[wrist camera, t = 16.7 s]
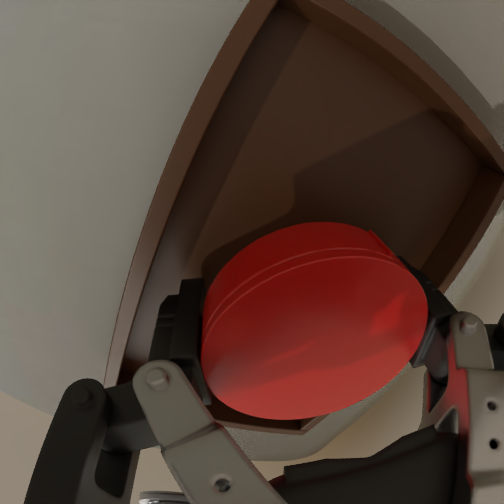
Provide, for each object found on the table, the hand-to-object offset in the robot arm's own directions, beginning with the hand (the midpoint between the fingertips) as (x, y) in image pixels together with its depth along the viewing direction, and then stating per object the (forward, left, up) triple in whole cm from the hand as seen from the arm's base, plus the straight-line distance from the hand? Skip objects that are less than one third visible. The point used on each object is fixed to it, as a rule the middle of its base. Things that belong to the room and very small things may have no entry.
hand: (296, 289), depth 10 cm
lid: (0, 0, +3) cm, 3 cm away
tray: (0, 0, -1) cm, 1 cm away
